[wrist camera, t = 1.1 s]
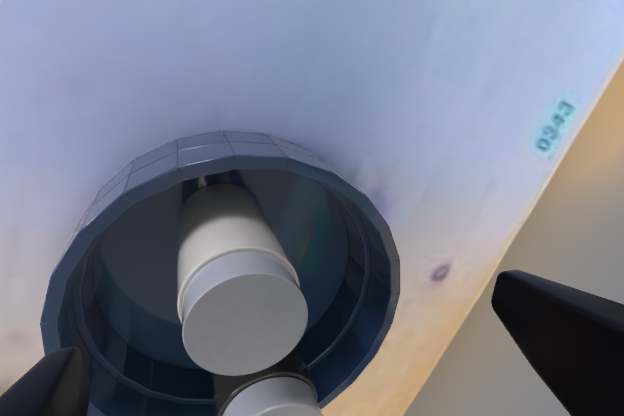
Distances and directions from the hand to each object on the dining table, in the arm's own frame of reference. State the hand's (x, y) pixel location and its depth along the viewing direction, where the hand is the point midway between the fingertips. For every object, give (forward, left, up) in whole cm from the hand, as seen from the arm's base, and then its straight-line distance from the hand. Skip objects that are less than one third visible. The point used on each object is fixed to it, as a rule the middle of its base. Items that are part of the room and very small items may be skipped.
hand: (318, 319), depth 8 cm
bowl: (-1, -7, -13) cm, 15 cm away
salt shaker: (-1, -3, -13) cm, 13 cm away
